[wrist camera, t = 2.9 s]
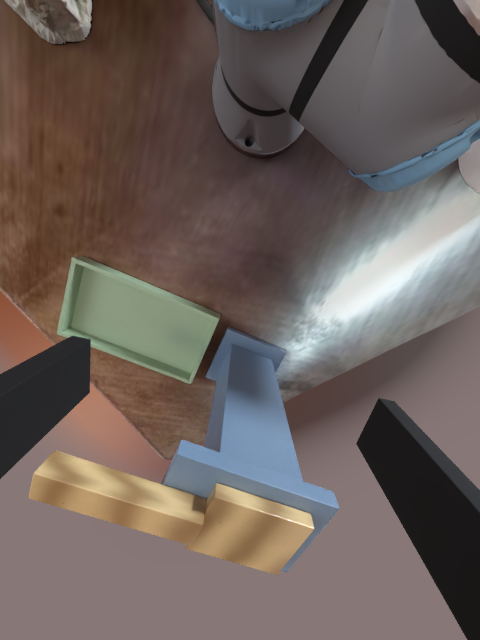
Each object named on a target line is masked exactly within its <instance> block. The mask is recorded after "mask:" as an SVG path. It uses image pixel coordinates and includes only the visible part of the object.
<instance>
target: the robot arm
mask: <svg viewBox="0 0 480 640" xmlns="http://www.w3.org/2000/svg"><path fill="white" fill-rule="evenodd" d="M197 1H198V3H199V4H200V6H201V8H202V9H203V11H204V12H205V13H206V15H207V16H208V17H209V19H210V20H211V21H212V23H213V24H214V25H215V28H216V35H217V42H218V49H219V57H218V60H217V63H216V65H215V69H214V73H213V79H212V101H213V107H214V112H215V116H216V120H217V123H218V125H219V128H220V130H221V132H222V133H223V135H224V137H225V138H226V139H227V141H228V142H229V143H230V144H231V145H232V146H233V147H234V148H235V149H237V150H238V151H240V152H241V153H243V154H245V155H248V156H251V157H256V158H267V157H272V156H275V155H278V154H280V153H282V152H284V151H285V150H287V149H288V148H290V147H291V146H292V145H293V144H294V143H295V142H296V141H297V140H298V138H299V137H300V136H301V134H302V133H303V131H304V129H306V130H307V131H308V132H309V133H310V134H312V135H313V136H314V137H315V138H316V139H317V140H318V141H319V142H320V143H321V144H322V145H324V146H325V147H326V148H327V149H328V150H329V151H330V152H331V153H332V154H333V155H334V156H335V157H337V158H338V159H339V160H340V161H341V162H342V163H343V164H344V165H345V166H346V167H347V168H348V171H349V173H350V174H351V175H352V176H354V177H357V178H360V179H361V180H362V181H363V182H364V183H366V184H367V185H368V186H369V187H371V188H372V189H373V190H376V191H381V192H393V191H397V190H401V189H404V188H407V187H409V186H412V185H414V184H416V183H418V182H420V181H422V180H424V179H426V178H427V177H429V176H431V175H433V174H435V173H436V172H438V171H439V170H441V169H443V168H444V167H446V166H447V165H449V164H450V163H452V162H453V161H455V160H456V159H457V158H459V157H460V156H461V155H463V154H464V153H465V152H467V151H468V150H469V149H470V147H471V144H472V143H473V142H475V141H477V140H478V139H480V0H211V1H212V7H211V6H210V5H209V3H208V2H207V0H197ZM212 8H213V9H212ZM90 347H91V339H87V338H82V337H77V336H71V337H69V338H67V339H65V340H63V341H61V342H60V343H58V344H56V345H54V346H52V347H50V348H48V349H47V350H45V351H43V352H41V353H39V354H37V355H35V356H34V357H32V358H30V359H28V360H26V361H24V362H22V363H20V364H19V365H17V366H15V367H13V368H11V369H9V370H8V371H6V372H4V373H2V374H0V479H1V478H2V476H4V475H5V474H6V473H7V472H8V471H9V470H10V469H11V468H12V467H13V466H14V465H15V464H16V463H17V462H18V461H19V460H20V459H21V458H22V457H23V456H24V455H25V454H26V453H28V452H29V451H30V450H31V449H32V448H33V447H34V446H35V445H36V444H37V443H38V442H39V441H40V440H41V439H42V438H43V437H44V436H45V435H46V434H47V433H48V432H49V431H50V430H51V429H52V428H53V427H54V426H55V425H56V424H58V422H60V421H61V420H62V419H63V418H64V417H65V416H66V415H67V414H68V413H69V412H70V411H71V410H72V409H73V408H74V407H75V406H76V405H77V404H78V403H79V402H80V401H81V400H82V399H83V398H84V397H85V396H86V395H88V393H89V392H90ZM357 445H358V447H359V449H360V451H361V453H362V454H363V456H364V458H365V460H366V462H367V463H368V465H369V467H370V469H371V470H372V472H373V474H374V475H375V477H376V479H377V481H378V483H379V484H380V486H381V488H382V490H383V492H384V493H385V495H386V497H387V499H388V500H389V502H390V504H391V506H392V507H393V509H394V511H395V513H396V515H397V516H398V518H399V520H400V522H401V523H402V525H403V527H404V529H405V530H406V532H407V534H408V536H409V537H410V539H411V541H412V543H413V545H414V546H415V548H416V550H417V552H418V553H419V555H420V557H421V559H422V560H423V562H424V564H425V566H426V567H427V569H428V571H429V573H430V575H431V576H432V578H433V580H434V582H435V583H436V585H437V587H438V589H439V590H440V592H441V594H442V596H443V597H444V599H445V601H446V603H447V604H448V606H449V608H450V610H451V611H452V613H453V615H454V617H455V619H456V620H457V622H458V624H459V626H460V627H461V629H462V631H463V633H464V635H465V636H466V638H467V640H480V490H479V489H478V488H477V487H476V486H475V485H474V484H473V483H472V482H471V481H470V480H469V479H468V478H467V477H466V476H465V475H464V474H463V472H462V471H461V470H460V469H459V468H458V467H457V466H456V465H455V464H454V463H453V462H452V461H451V460H450V459H449V458H448V457H447V456H446V455H445V454H444V453H443V452H442V451H441V450H440V448H439V447H438V446H437V445H435V443H434V442H433V441H432V440H431V439H430V438H429V437H428V436H427V435H426V434H425V433H424V432H423V431H422V430H421V429H420V428H419V427H418V426H417V425H416V424H415V423H414V422H413V420H412V419H411V418H410V417H409V416H408V415H407V414H406V413H405V412H404V411H403V410H402V409H401V408H400V407H399V406H398V405H397V404H396V403H395V402H394V401H390V400H385V399H380V398H379V399H378V401H377V403H376V405H375V407H374V409H373V411H372V413H371V415H370V417H369V419H368V421H367V423H366V425H365V427H364V429H363V431H362V433H361V435H360V437H359V439H358V441H357Z"/></svg>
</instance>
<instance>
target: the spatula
mask: <svg viewBox="0 0 480 640" xmlns="http://www.w3.org/2000/svg"><path fill="white" fill-rule="evenodd" d="M29 498H30V499H33V500H36V501H40V502H43V503H47V504H50V505H54V506H57V507H61V508H64V509H67V510H71V511H74V512H78V513H81V514H85V515H88V516H92V517H95V518H98V519H102V520H105V521H109V522H112V523H116V524H119V525H122V526H126V527H129V528H133V529H136V530H140V531H143V532H146V533H150V534H153V535H157V536H160V537H164V538H167V539H171V540H174V541H178V542H181V543H184V544H186V546H185V548H186V549H190V550H193V551H196V552H200V553H203V554H207V555H210V556H213V557H217V558H220V559H224V560H227V561H231V562H235V563H238V564H241V565H245V566H248V567H252V568H255V569H258V570H262V571H265V572H269V573H272V574H276V575H277V574H278V573H279V572H280V571H281V569H282V568H283V567H284V566H285V565H286V563H287V562H288V561H289V560H290V558H291V557H292V556H293V555H294V554H295V552H296V551H297V550H298V549H299V547H300V546H301V545H302V544H303V543H304V541H305V540H306V539H307V538H308V536H309V535H310V534H311V533H312V532H313V530H314V524H313V520H312V516H311V514H310V513H307V512H304V511H301V510H298V509H295V508H292V507H289V506H286V505H283V504H280V503H277V502H274V501H271V500H268V499H265V498H262V497H259V496H256V495H253V494H250V493H247V492H244V491H241V490H238V489H234V488H231V487H228V486H225V485H222V484H219V483H216V484H215V486H214V488H213V489H212V491H211V493H210V495H209V497H208V498H207V499H206V498H203V497H200V496H197V495H194V494H191V493H188V492H184V491H181V490H178V489H175V488H172V487H169V486H166V485H163V484H159V483H156V482H153V481H150V480H147V479H144V478H140V477H137V476H134V475H131V474H128V473H125V472H122V471H118V470H115V469H112V468H109V467H106V466H103V465H100V464H97V463H93V462H90V461H87V460H84V459H81V458H78V457H75V456H71V455H68V454H65V453H62V452H59V451H56V450H55V451H54V452H53V453H52V454H51V455H50V456H49V457H48V458H47V459H46V460H45V461H44V462H43V464H42V465H41V466H40V467H39V468H38V469H37V470H36V471H35V472H34V475H33V479H32V483H31V488H30V493H29Z"/></svg>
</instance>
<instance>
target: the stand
mask: <svg viewBox="0 0 480 640" xmlns="http://www.w3.org/2000/svg"><path fill="white" fill-rule="evenodd" d="M285 354H286V352H285V350H283V349H281V348H279V347H276V346H274V345H271V344H269V343H267V342H264V341H262V340H259V339H257V338H255V337H252V336H250V335H247V334H245V333H243V332H240V331H238V330H235V329H233V328H231V327H227V329H226V331H225V334H224V336H223V338H222V340H221V342H220V345H219V347H218V349H217V351H216V354H215V356H214V358H213V360H212V362H211V365H210V367H209V369H208V371H207V373H206V378H209V379H211V380H214V381H217V383H216V388H215V393H214V398H213V404H212V409H211V414H210V420H209V425H208V430H207V435H206V441H205V446H204V447H202V446H200V445H197V444H194V443H191V442H188V441H185V440H182V439H181V441H180V443H179V446H178V448H177V450H176V452H175V454H174V456H173V459H172V461H171V463H170V465H169V467H168V470H167V472H166V474H165V476H164V479H163V480H162V483H161V484H163V485H166V486H169V487H172V488H175V489H178V490H181V491H184V492H188V493H191V494H194V495H197V496H200V497H203V498H206V499H207V498H208V497H209V495H210V493H211V491H212V489H213V488H214V486H215V484H216V483H219V484H222V485H225V486H228V487H231V488H234V489H238V490H241V491H244V492H247V493H250V494H253V495H256V496H259V497H262V498H265V499H268V500H271V501H274V502H277V503H280V504H283V505H286V506H289V507H292V508H295V509H298V510H301V511H304V512H307V513H310V514H311V516H312V520H313V524H314V530H313V532H312V533H311V534H310V535H309V536H308V538H307V539H306V540H305V541H304V543H303V544H302V545H301V546H300V547H299V549H298V550H297V551H296V552H295V554H294V555H293V556H292V557H291V558H290V560H289V561H288V562H287V563H286V565H285V566H284V567H283V568H282V569H281V571H284V572H287V571H288V570H289V569H290V568H291V566H292V565H293V564H294V563H295V561H296V560H297V559H298V558H299V557H300V555H301V554H302V553H303V552H304V551H305V550H306V548H307V547H308V546H309V545H310V544H311V542H312V541H313V540H314V539H315V538H316V536H317V535H318V534H319V533H320V532H321V530H322V529H323V528H324V527H325V526H326V524H327V523H328V522H329V521H330V520H331V518H332V517H333V516H334V515H335V514H336V512H337V511H338V510H339V506H338V503H337V501H336V498H335V495H334V493H333V491H330V490H327V489H324V488H321V487H318V486H315V485H312V484H309V483H306V482H303V481H302V477H301V473H300V469H299V465H298V461H297V457H296V453H295V449H294V445H293V441H292V437H291V434H290V429H289V426H288V422H287V418H286V414H285V410H284V406H283V402H282V398H281V394H280V390H279V386H278V382H277V378H276V374H275V372H276V370H277V369H278V367H279V365H280V363H281V361H282V360H283V358H284V356H285Z"/></svg>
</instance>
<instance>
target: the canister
mask: <svg viewBox="0 0 480 640" xmlns="http://www.w3.org/2000/svg"><path fill="white" fill-rule="evenodd" d="M458 162H459V170H460V173H461V174H462V176H463V178H464V180H465V182H466V184H467V185H469V186H470V187H471V188H472V189H474V190H475V191H476V192H478V193H480V139H478V140H477V141H475V142H473V143H472V144H471V147H470V149H469V150H468V151H467V152H465V153H464V154H463V155H461V156H460V157H459V158H458Z"/></svg>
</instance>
